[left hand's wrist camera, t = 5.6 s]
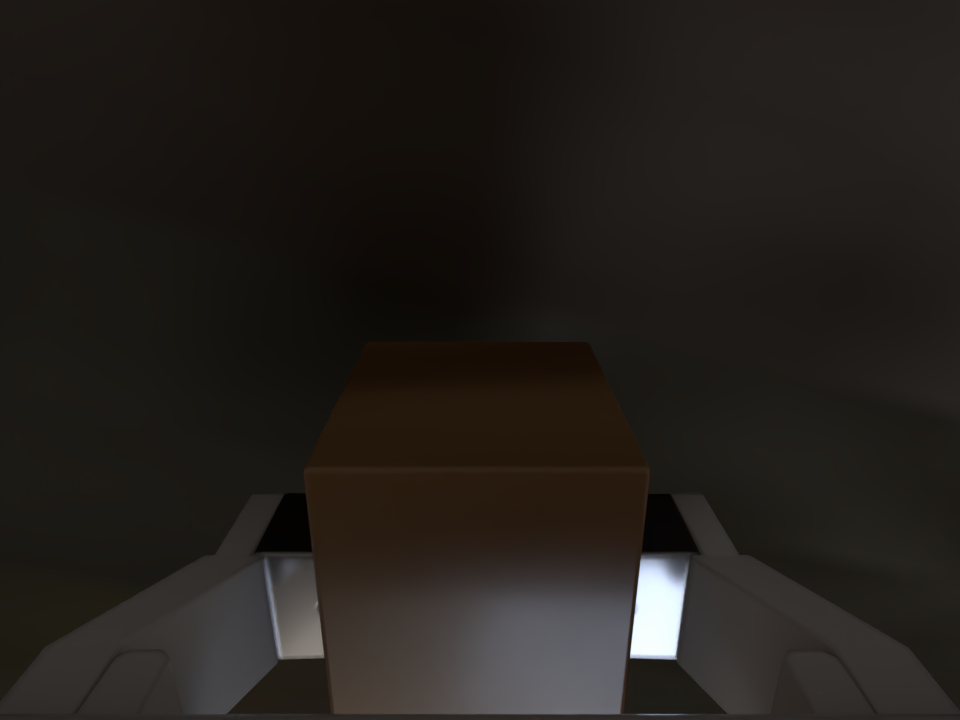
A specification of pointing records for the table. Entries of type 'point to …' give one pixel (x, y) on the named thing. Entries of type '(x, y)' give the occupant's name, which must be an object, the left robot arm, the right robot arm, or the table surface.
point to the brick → (477, 532)
